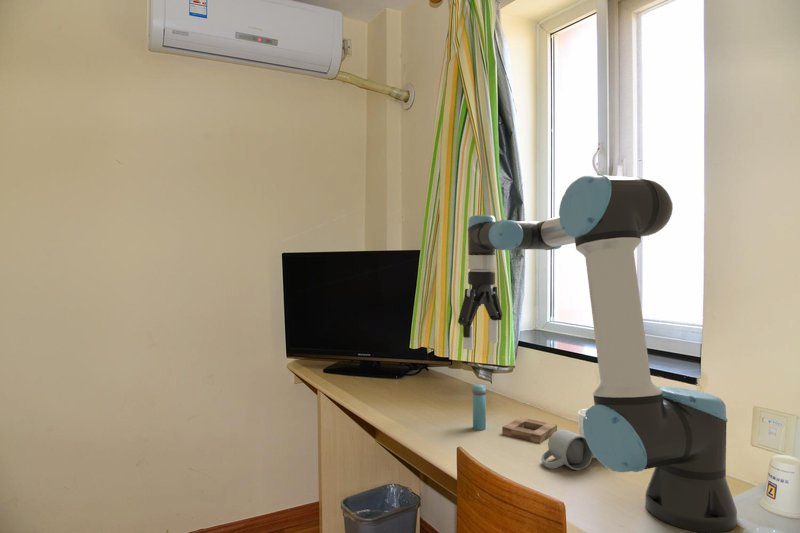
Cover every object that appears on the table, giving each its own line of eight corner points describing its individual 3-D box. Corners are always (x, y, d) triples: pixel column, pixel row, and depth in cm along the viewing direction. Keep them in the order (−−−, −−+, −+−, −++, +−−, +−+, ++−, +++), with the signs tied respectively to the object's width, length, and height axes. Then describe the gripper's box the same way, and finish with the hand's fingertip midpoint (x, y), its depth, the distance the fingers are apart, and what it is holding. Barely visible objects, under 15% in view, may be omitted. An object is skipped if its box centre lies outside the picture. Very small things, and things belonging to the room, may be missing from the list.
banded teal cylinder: (481, 431, 145) (481, 388, 145) (469, 428, 148) (469, 386, 148) (488, 427, 148) (488, 385, 148) (476, 425, 151) (476, 383, 151)
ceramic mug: (571, 455, 128) (571, 424, 128) (594, 467, 120) (593, 434, 120) (534, 461, 124) (533, 429, 124) (554, 475, 117) (554, 441, 117)
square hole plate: (540, 443, 136) (540, 435, 136) (502, 434, 143) (502, 427, 143) (556, 431, 145) (556, 424, 145) (520, 424, 152) (520, 417, 152)
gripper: (491, 269, 159) (491, 338, 160) (445, 271, 140) (445, 350, 141) (514, 269, 154) (513, 341, 155) (469, 272, 135) (468, 354, 136)
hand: (481, 345), depth 148 cm, fingers open, 13 cm apart
